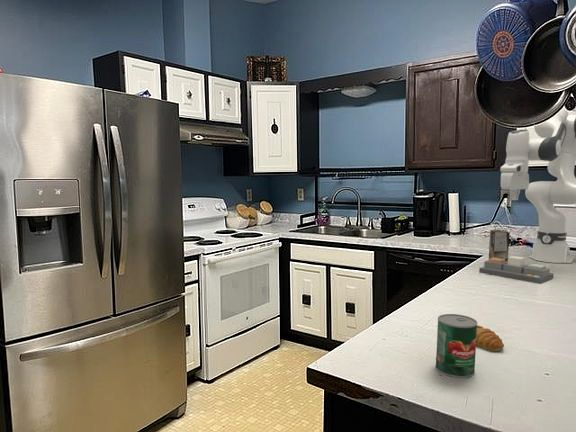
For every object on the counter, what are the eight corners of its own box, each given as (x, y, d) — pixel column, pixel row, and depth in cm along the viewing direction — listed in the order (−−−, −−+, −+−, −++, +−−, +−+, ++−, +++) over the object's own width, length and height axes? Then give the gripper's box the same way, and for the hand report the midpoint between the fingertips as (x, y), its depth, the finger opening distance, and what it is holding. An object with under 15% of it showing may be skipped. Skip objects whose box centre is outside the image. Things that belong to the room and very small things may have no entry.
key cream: (512, 264, 183) (513, 255, 183) (524, 265, 179) (525, 257, 179) (507, 265, 180) (508, 257, 179) (519, 267, 176) (520, 259, 176)
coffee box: (508, 267, 195) (510, 232, 194) (492, 266, 196) (494, 231, 195) (502, 263, 204) (504, 229, 202) (487, 262, 205) (489, 229, 204)
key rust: (493, 265, 189) (493, 257, 189) (504, 267, 186) (505, 259, 185) (488, 266, 186) (488, 258, 186) (499, 268, 182) (500, 260, 182)
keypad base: (494, 268, 194) (494, 258, 193) (553, 278, 175) (554, 267, 175) (479, 272, 185) (479, 262, 184) (540, 283, 166) (540, 272, 166)
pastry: (511, 351, 102) (512, 336, 102) (487, 355, 101) (488, 339, 100) (484, 337, 111) (484, 323, 111) (461, 340, 110) (462, 325, 109)
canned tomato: (460, 381, 87) (463, 329, 86) (427, 367, 93) (430, 318, 92) (482, 371, 92) (485, 321, 91) (449, 358, 98) (451, 311, 97)
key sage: (532, 271, 177) (532, 263, 177) (545, 274, 173) (545, 265, 173) (527, 273, 174) (528, 265, 174) (540, 275, 170) (541, 267, 170)
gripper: (518, 168, 193) (516, 199, 194) (498, 167, 180) (496, 200, 181) (534, 168, 188) (531, 199, 189) (514, 167, 175) (512, 201, 176)
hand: (514, 200), depth 185 cm, fingers closed
